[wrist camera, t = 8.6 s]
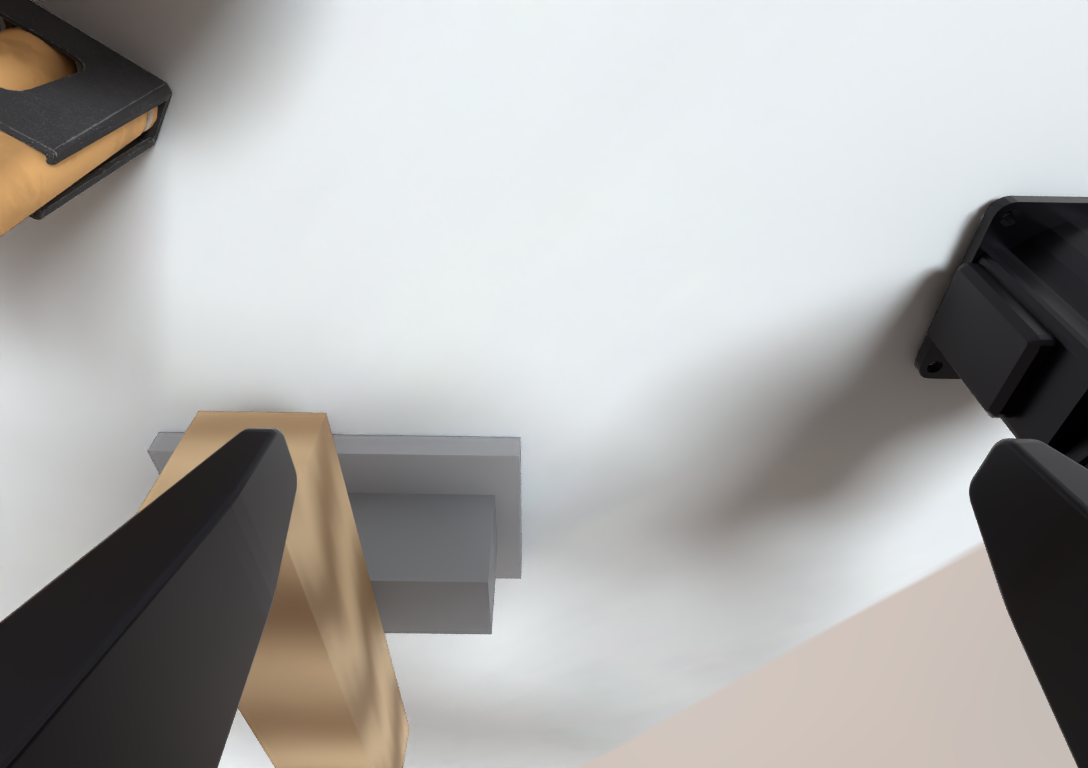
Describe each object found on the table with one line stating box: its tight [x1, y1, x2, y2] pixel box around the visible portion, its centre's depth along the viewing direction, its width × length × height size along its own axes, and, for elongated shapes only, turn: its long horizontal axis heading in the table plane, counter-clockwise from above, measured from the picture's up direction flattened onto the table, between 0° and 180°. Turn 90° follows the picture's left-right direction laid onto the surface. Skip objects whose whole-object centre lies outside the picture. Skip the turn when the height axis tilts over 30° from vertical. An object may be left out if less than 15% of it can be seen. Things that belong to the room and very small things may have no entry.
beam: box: [137, 411, 409, 768], centre depth 23 cm, size 20×4×4 cm, turn 179°
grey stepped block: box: [148, 432, 522, 634], centre depth 26 cm, size 14×8×5 cm, turn 89°
